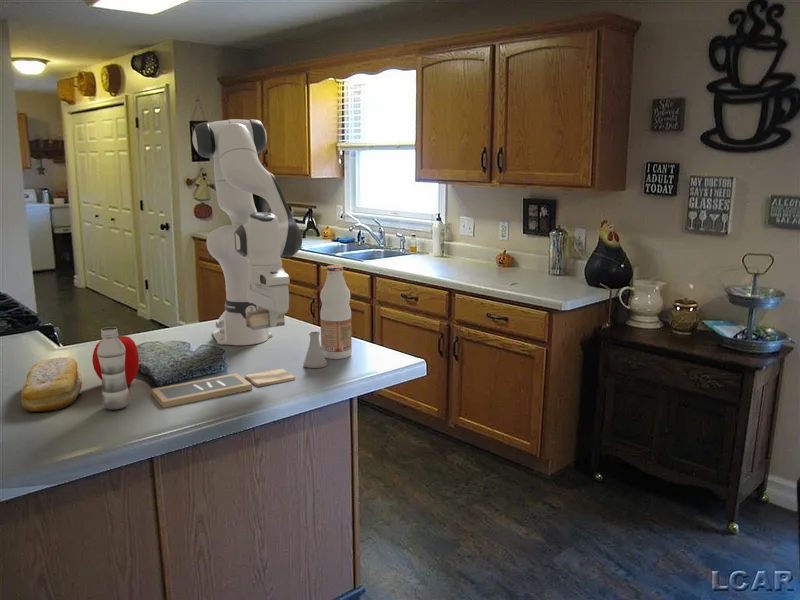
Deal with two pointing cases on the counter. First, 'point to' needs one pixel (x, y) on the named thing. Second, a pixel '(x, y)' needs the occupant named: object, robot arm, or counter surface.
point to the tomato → (130, 359)
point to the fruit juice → (335, 315)
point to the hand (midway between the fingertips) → (267, 323)
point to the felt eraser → (261, 319)
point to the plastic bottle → (113, 370)
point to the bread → (51, 385)
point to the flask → (314, 353)
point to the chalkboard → (200, 389)
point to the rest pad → (269, 377)
